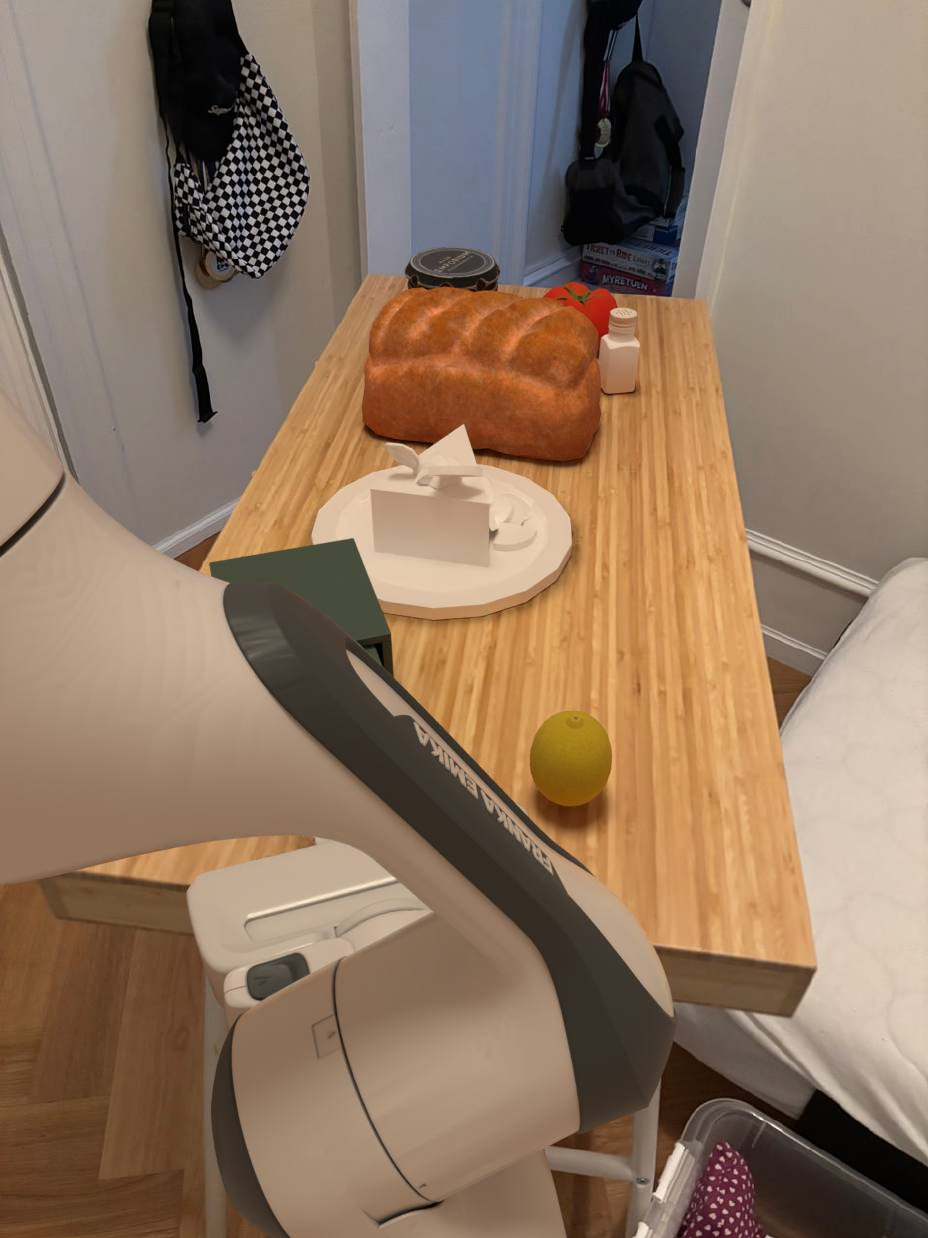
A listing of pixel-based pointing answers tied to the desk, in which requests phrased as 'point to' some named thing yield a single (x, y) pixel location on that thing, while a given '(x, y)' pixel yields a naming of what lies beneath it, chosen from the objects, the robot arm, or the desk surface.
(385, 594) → the dish
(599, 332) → the tomato
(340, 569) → the cabinet
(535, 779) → the lemon
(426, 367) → the bread
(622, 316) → the pepper shaker
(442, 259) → the container
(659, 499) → the desk surface
